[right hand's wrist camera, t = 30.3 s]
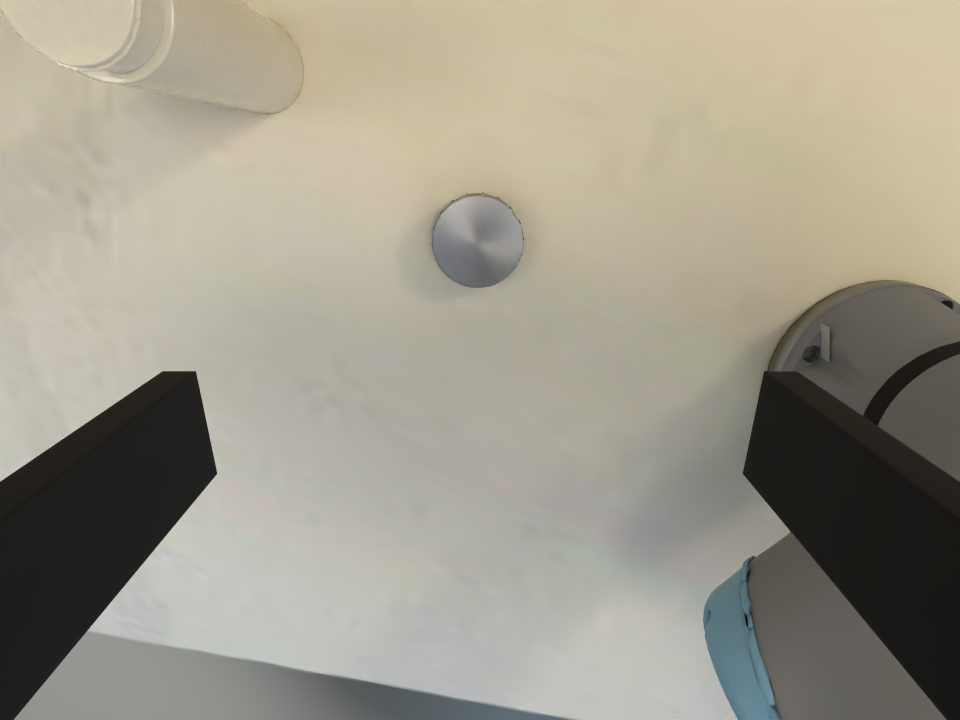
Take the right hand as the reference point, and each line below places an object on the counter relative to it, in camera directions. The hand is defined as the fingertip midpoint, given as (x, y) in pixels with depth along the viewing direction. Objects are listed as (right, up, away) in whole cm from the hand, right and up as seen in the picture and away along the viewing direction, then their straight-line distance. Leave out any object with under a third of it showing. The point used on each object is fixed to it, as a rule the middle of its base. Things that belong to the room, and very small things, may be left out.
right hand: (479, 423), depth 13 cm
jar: (-14, +21, +23) cm, 34 cm away
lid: (0, +10, +25) cm, 27 cm away
